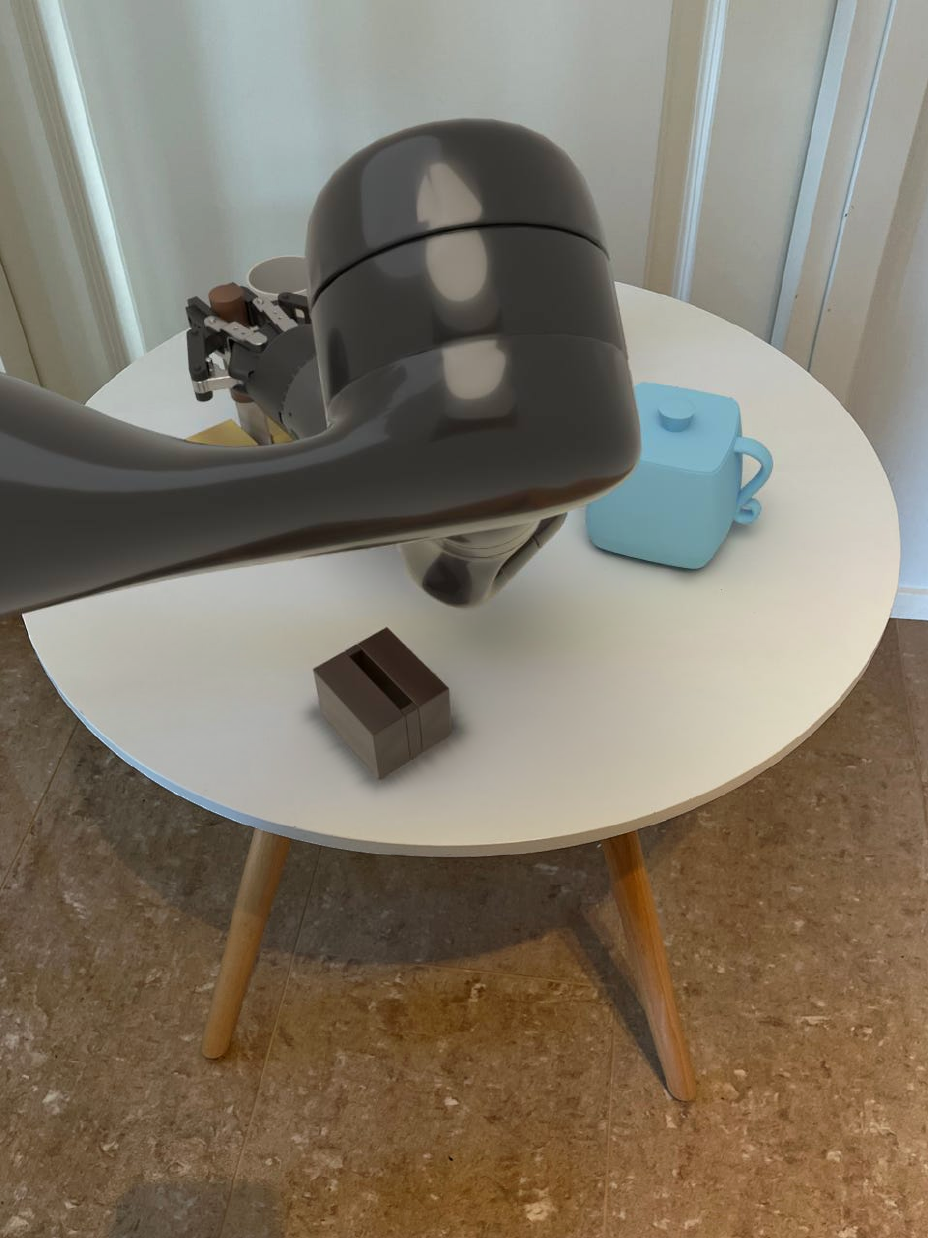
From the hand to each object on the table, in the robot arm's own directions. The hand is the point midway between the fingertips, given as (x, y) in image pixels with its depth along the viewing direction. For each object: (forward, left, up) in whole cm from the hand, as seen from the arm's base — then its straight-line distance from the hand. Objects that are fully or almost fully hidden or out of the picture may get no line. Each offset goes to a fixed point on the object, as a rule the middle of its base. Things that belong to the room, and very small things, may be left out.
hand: (211, 301), depth 82 cm
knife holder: (-18, -28, -15) cm, 36 cm away
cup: (+13, +5, -15) cm, 21 cm away
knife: (-1, -3, -13) cm, 13 cm away
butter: (-1, -3, -15) cm, 15 cm away
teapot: (+10, -34, -15) cm, 38 cm away
